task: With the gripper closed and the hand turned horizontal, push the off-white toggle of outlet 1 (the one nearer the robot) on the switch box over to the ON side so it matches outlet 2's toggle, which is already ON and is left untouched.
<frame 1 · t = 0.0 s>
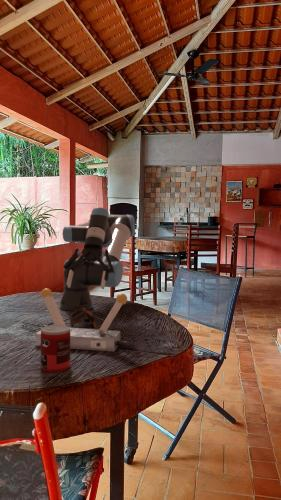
hand: (85, 286, 145), 15 cm above the table, tool tilted 35°, fingers open, 13 cm apart
toggle 1: (53, 309, 125), point 11 cm above the table, hinge at 25.0°
switch box: (78, 344, 124), on the table
toggle 2: (112, 313, 122), point 11 cm above the table, hinge at -30.0°
pottery mug: (84, 326, 146), on the table
canned food: (55, 367, 105), on the table
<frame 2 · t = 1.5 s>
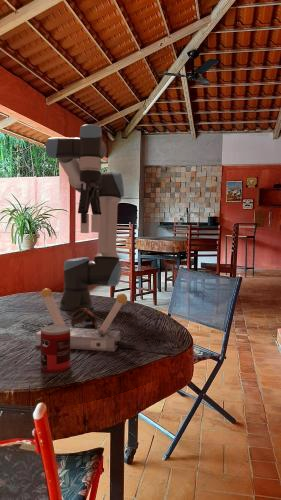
hand: (90, 232, 134), 36 cm above the table, tool pointing down, fingers open, 12 cm apart
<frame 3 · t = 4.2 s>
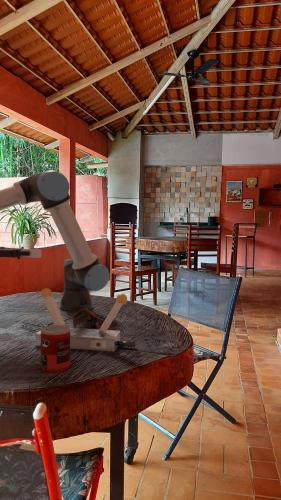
hand: (40, 253, 124), 30 cm above the table, tool horizontal, fingers closed
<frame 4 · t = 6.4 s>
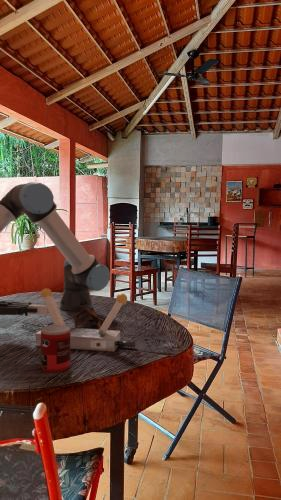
hand: (47, 310, 125), 11 cm above the table, tool horizontal, fingers closed
toggle 1: (53, 309, 125), point 11 cm above the table, hinge at 24.9°, touching gripper
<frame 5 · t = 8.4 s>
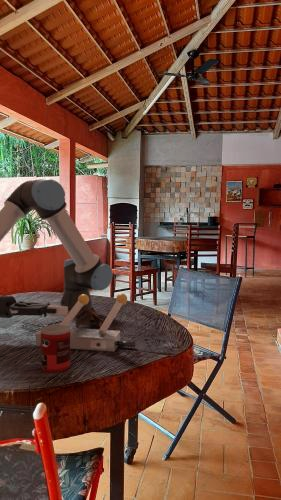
hand: (66, 311, 124), 11 cm above the table, tool horizontal, fingers closed
toggle 1: (73, 312, 124), point 10 cm above the table, hinge at -37.0°, touching gripper
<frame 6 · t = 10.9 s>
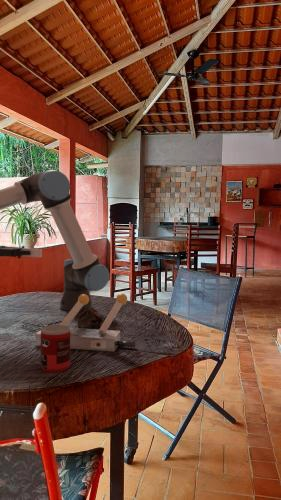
hand: (41, 253, 125), 30 cm above the table, tool horizontal, fingers closed
toggle 1: (73, 312, 124), point 10 cm above the table, hinge at -37.1°
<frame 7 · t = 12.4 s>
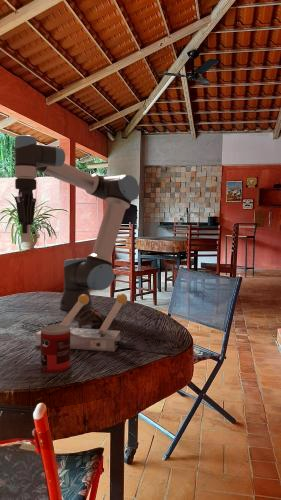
hand: (26, 242, 142), 32 cm above the table, tool pointing down, fingers closed
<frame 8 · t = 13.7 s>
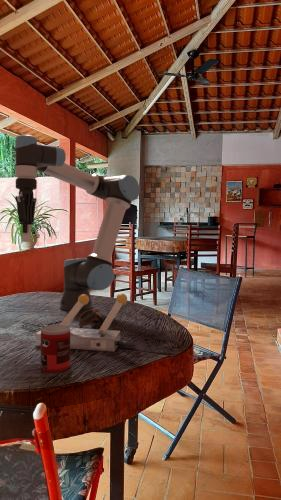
hand: (26, 241, 142), 32 cm above the table, tool pointing down, fingers closed
at the end: toggle 1 at -37° (first picture: +25°); toggle 2 at -30° (first picture: -30°) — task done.
